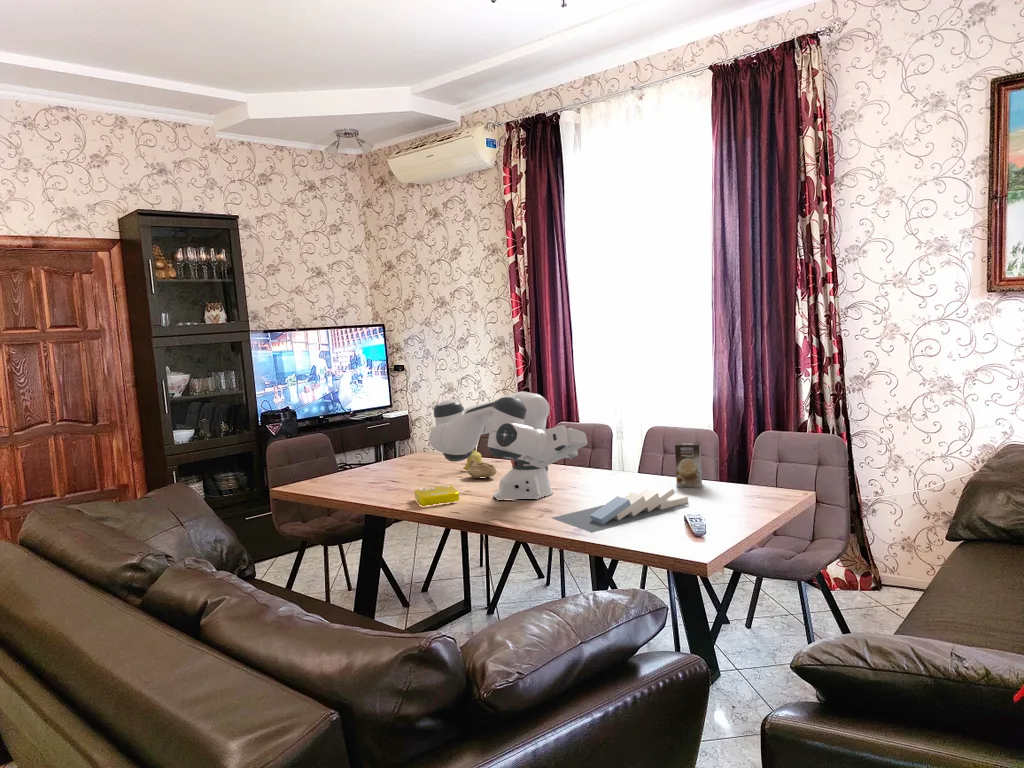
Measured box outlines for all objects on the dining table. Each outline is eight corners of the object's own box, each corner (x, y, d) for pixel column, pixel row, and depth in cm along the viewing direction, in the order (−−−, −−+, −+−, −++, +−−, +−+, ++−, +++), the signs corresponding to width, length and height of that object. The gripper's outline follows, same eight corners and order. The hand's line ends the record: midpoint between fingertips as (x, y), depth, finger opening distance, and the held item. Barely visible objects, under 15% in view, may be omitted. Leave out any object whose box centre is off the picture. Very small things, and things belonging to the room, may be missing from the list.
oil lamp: (491, 481, 292) (489, 463, 292) (461, 480, 300) (460, 461, 299) (504, 476, 302) (503, 457, 301) (475, 474, 309) (474, 456, 309)
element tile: (421, 509, 257) (420, 496, 256) (414, 500, 271) (413, 488, 271) (460, 503, 261) (459, 491, 261) (452, 495, 276) (451, 483, 275)
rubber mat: (592, 535, 209) (591, 532, 209) (551, 520, 228) (551, 517, 228) (689, 509, 229) (689, 506, 229) (644, 497, 248) (644, 495, 248)
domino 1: (616, 515, 219) (643, 495, 224) (605, 511, 224) (631, 492, 229) (618, 520, 219) (645, 501, 224) (607, 516, 224) (633, 498, 229)
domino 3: (647, 506, 225) (672, 488, 230) (635, 503, 230) (660, 485, 235) (649, 512, 225) (674, 493, 231) (637, 508, 231) (662, 490, 236)
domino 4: (660, 503, 228) (687, 496, 234) (648, 500, 233) (675, 493, 239) (661, 509, 228) (688, 502, 234) (648, 506, 233) (675, 499, 239)
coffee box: (676, 487, 259) (673, 445, 258) (677, 483, 265) (675, 441, 264) (701, 487, 256) (699, 444, 255) (702, 483, 262) (700, 441, 261)
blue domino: (601, 519, 216) (629, 499, 221) (589, 515, 221) (617, 496, 226) (603, 524, 216) (631, 505, 221) (591, 520, 221) (619, 501, 226)
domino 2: (631, 511, 222) (657, 492, 227) (619, 507, 227) (645, 489, 232) (633, 516, 222) (659, 497, 227) (621, 513, 227) (647, 494, 232)
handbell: (458, 472, 317) (453, 418, 315) (467, 466, 328) (462, 414, 326) (483, 472, 313) (479, 417, 311) (492, 466, 325) (487, 413, 323)
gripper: (521, 468, 214) (552, 476, 223) (569, 441, 202) (600, 450, 210) (518, 449, 217) (549, 458, 226) (565, 422, 205) (596, 432, 214)
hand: (574, 454), depth 218 cm, fingers closed
